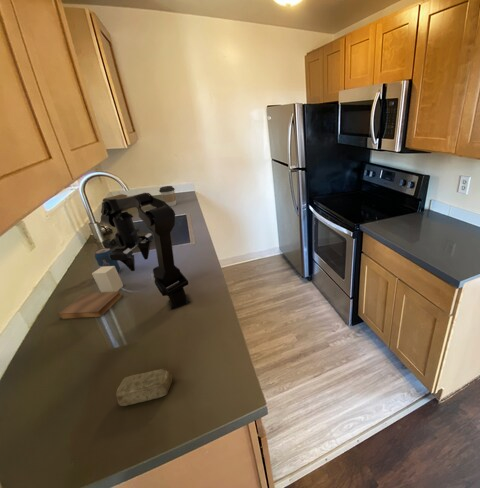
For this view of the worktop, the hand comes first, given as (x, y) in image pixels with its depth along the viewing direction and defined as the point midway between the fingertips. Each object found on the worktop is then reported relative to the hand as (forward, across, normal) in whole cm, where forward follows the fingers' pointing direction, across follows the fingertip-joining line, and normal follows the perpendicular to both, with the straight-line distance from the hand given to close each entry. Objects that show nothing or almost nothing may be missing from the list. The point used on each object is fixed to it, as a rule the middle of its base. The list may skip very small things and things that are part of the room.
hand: (139, 264), depth 110 cm
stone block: (+12, +49, +26) cm, 57 cm away
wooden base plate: (+12, +10, -16) cm, 22 cm away
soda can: (+12, -16, -26) cm, 33 cm away
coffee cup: (+12, -126, -49) cm, 136 cm away
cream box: (+12, -1, -16) cm, 20 cm away
